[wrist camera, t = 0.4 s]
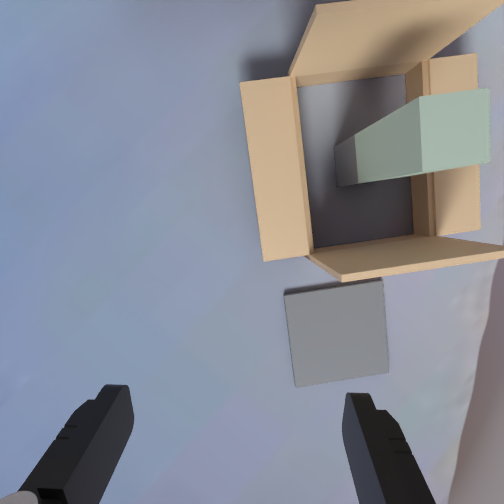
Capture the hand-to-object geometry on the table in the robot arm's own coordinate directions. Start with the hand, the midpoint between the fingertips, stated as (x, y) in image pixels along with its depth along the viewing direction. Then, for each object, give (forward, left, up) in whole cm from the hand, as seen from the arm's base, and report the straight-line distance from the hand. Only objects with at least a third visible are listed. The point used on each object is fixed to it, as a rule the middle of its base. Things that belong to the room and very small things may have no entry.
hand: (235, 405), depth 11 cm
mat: (+10, +11, -25) cm, 29 cm away
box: (-10, +15, -25) cm, 31 cm away
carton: (-10, +15, -25) cm, 31 cm away
